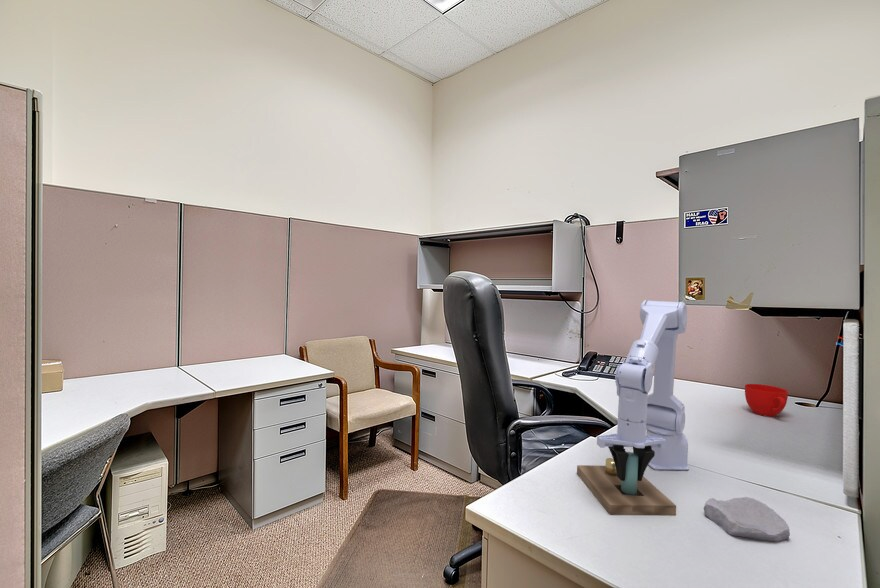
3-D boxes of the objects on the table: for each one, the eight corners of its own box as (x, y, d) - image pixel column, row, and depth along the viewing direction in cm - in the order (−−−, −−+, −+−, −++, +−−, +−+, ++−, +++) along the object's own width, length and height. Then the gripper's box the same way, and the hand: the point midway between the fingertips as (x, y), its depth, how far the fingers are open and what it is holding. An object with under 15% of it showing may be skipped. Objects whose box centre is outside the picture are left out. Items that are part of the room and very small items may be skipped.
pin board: (631, 473, 102) (632, 454, 102) (675, 515, 84) (677, 491, 84) (576, 473, 101) (577, 453, 101) (609, 514, 83) (610, 490, 83)
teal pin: (632, 487, 91) (633, 452, 91) (639, 494, 88) (641, 458, 88) (618, 486, 91) (619, 451, 91) (625, 494, 88) (626, 458, 88)
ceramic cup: (762, 421, 146) (763, 394, 146) (736, 407, 162) (737, 382, 162) (802, 424, 144) (804, 397, 143) (772, 410, 160) (774, 385, 160)
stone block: (794, 551, 77) (752, 511, 86) (800, 529, 75) (756, 491, 85) (735, 553, 76) (699, 513, 86) (739, 532, 75) (702, 493, 85)
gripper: (608, 424, 85) (605, 487, 85) (675, 425, 85) (672, 488, 86) (593, 413, 92) (591, 471, 92) (656, 414, 92) (653, 472, 93)
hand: (629, 478), depth 89 cm, fingers closed on teal pin, 3 cm apart
